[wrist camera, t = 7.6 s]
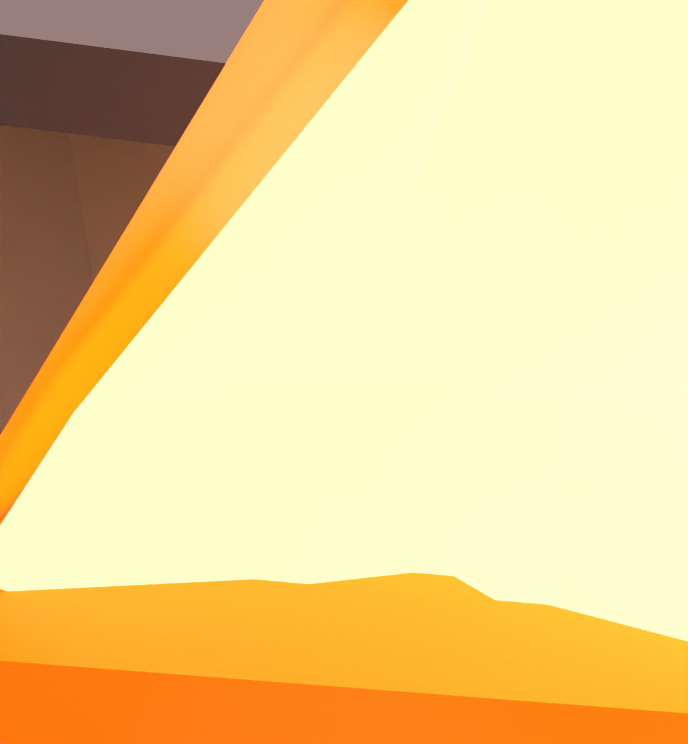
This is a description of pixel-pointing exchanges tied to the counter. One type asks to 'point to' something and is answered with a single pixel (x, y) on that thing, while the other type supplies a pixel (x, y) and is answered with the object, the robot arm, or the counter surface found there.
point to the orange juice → (376, 400)
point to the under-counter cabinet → (75, 178)
